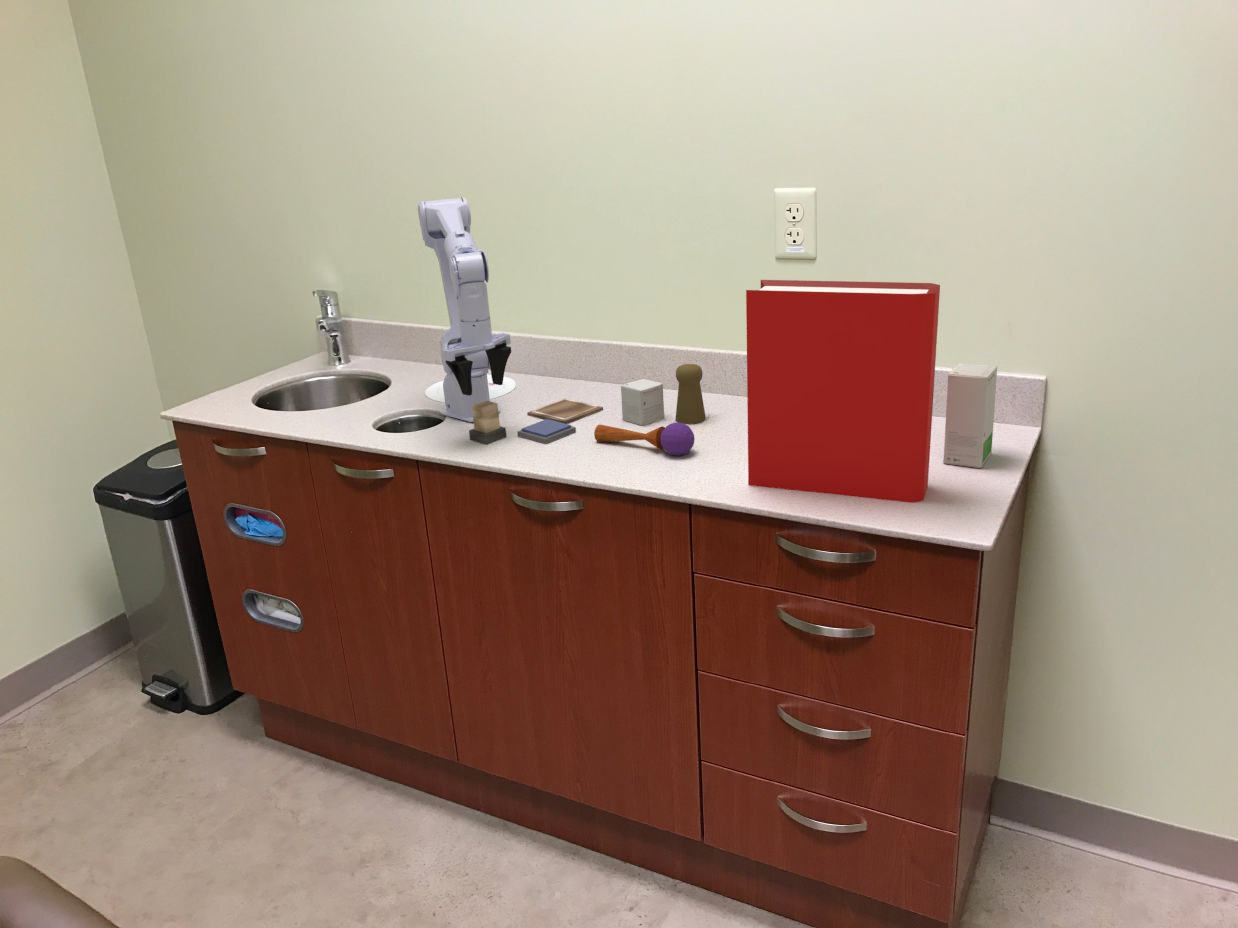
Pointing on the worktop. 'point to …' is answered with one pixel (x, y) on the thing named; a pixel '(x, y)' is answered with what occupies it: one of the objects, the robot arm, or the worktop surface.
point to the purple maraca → (652, 437)
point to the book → (841, 386)
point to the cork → (689, 395)
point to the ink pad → (546, 431)
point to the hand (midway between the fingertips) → (482, 389)
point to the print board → (565, 411)
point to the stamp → (486, 423)
